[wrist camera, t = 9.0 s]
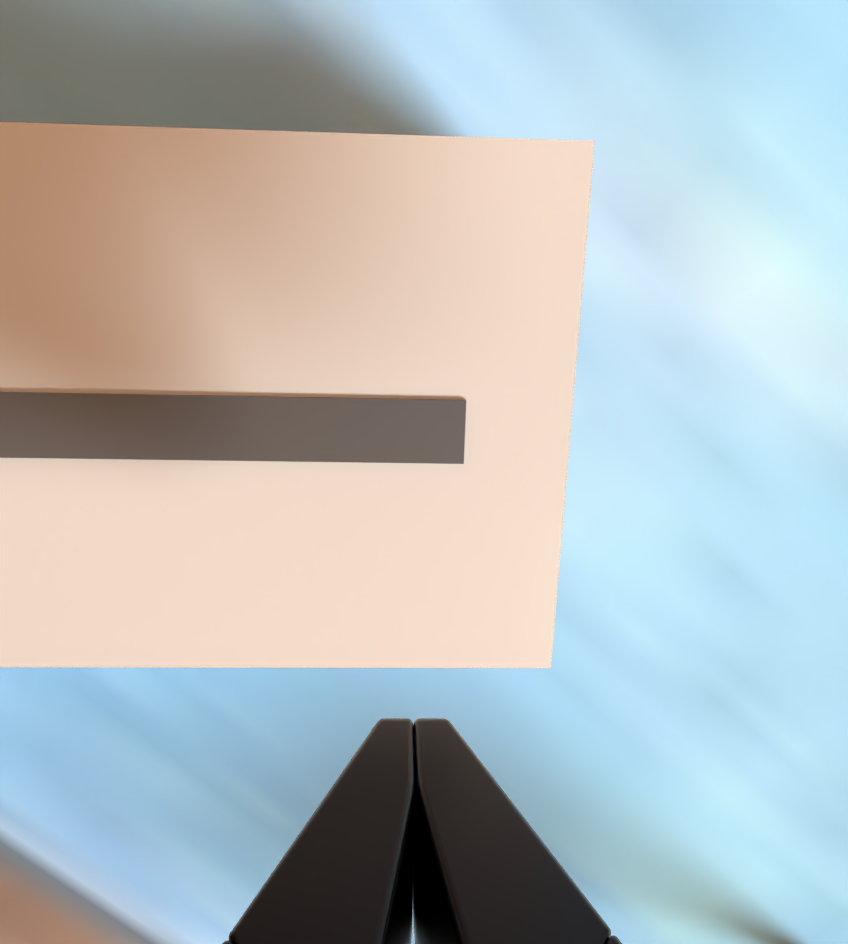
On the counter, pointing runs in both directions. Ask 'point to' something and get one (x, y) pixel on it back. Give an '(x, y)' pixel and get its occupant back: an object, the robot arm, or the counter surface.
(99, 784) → the counter surface
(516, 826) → the robot arm
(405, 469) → the board
